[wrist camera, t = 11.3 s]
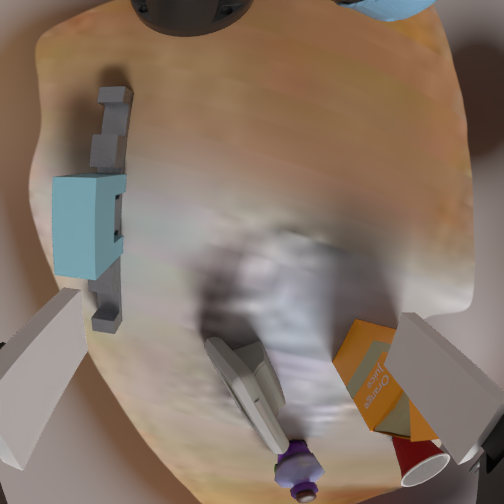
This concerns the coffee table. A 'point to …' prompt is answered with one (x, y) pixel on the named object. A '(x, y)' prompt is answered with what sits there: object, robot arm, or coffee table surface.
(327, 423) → the coffee table surface
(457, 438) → the robot arm
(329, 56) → the coffee table surface
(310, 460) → the potion bottle
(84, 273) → the block
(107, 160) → the rail
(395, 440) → the plastic cup
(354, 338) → the orange juice
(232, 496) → the coffee table surface
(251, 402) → the digital clock
